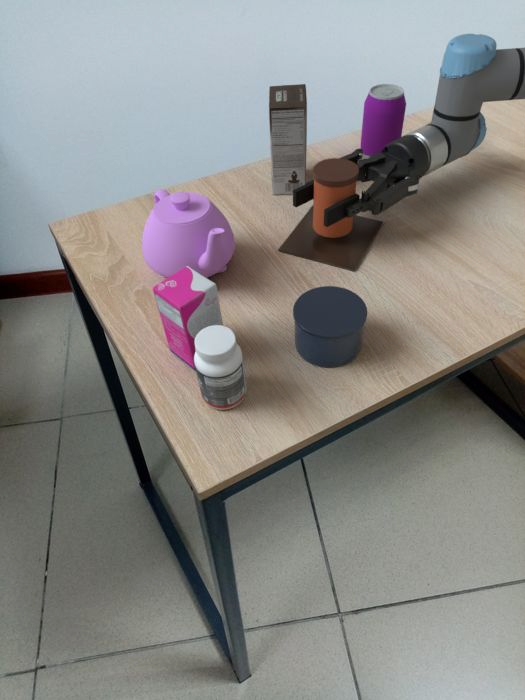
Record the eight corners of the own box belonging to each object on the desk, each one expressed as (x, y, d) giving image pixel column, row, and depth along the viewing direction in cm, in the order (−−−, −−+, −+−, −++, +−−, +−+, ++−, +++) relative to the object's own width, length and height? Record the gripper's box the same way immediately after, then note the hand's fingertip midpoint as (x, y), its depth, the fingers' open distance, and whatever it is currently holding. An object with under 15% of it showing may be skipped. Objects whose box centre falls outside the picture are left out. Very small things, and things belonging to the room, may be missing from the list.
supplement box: (200, 327, 75) (188, 263, 66) (228, 349, 72) (219, 284, 63) (167, 350, 72) (150, 286, 64) (195, 373, 69) (181, 308, 61)
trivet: (383, 223, 90) (383, 221, 89) (354, 271, 81) (354, 269, 81) (312, 206, 94) (312, 205, 94) (278, 251, 86) (278, 249, 86)
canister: (359, 219, 87) (365, 162, 80) (344, 242, 83) (349, 185, 76) (321, 210, 89) (323, 154, 82) (305, 232, 85) (305, 175, 78)
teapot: (268, 282, 81) (265, 211, 72) (188, 322, 76) (173, 252, 66) (201, 223, 92) (190, 156, 83) (127, 255, 87) (107, 187, 78)
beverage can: (390, 165, 102) (399, 102, 94) (353, 157, 105) (358, 95, 96) (404, 148, 107) (414, 86, 98) (368, 140, 110) (374, 79, 101)
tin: (372, 330, 73) (377, 297, 68) (348, 378, 67) (351, 346, 63) (310, 310, 76) (310, 278, 72) (281, 355, 71) (280, 323, 66)
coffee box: (271, 170, 103) (268, 84, 92) (304, 169, 103) (305, 82, 91) (271, 195, 97) (268, 107, 85) (306, 194, 97) (308, 105, 85)
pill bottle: (204, 375, 69) (193, 321, 61) (247, 375, 68) (241, 320, 61) (199, 411, 65) (186, 358, 58) (245, 411, 65) (238, 357, 57)
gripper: (454, 199, 86) (353, 258, 78) (368, 157, 97) (270, 204, 88) (465, 156, 81) (357, 214, 72) (373, 116, 92) (268, 162, 83)
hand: (309, 208), depth 80 cm, fingers closed on canister, 6 cm apart
